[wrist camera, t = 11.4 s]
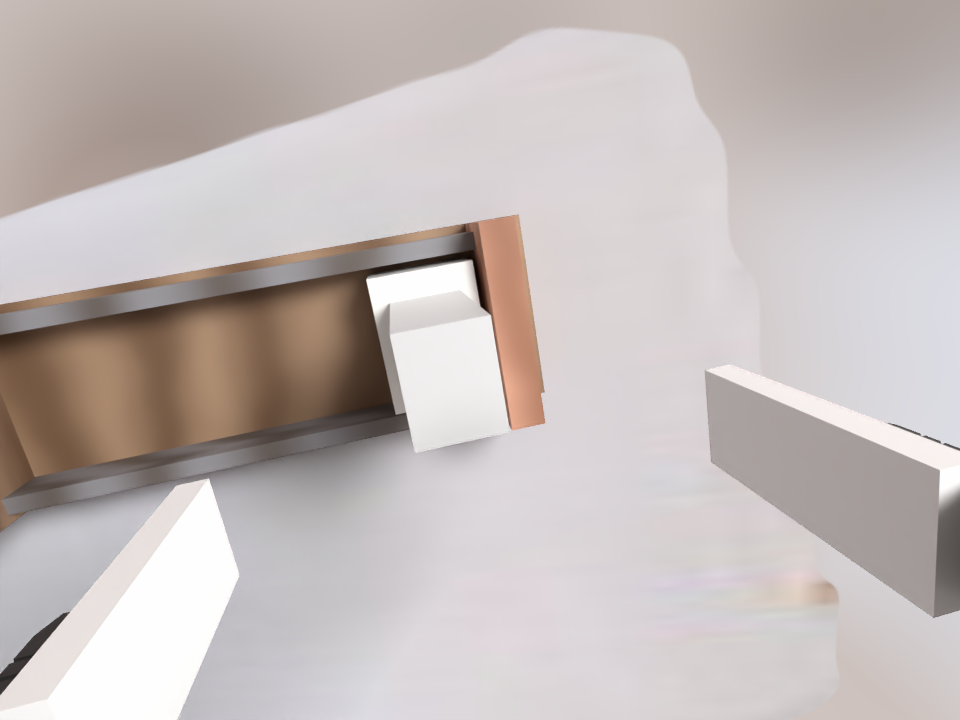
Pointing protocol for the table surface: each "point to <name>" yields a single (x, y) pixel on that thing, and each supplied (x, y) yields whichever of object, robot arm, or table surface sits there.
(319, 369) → the track
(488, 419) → the block
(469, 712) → the table surface
